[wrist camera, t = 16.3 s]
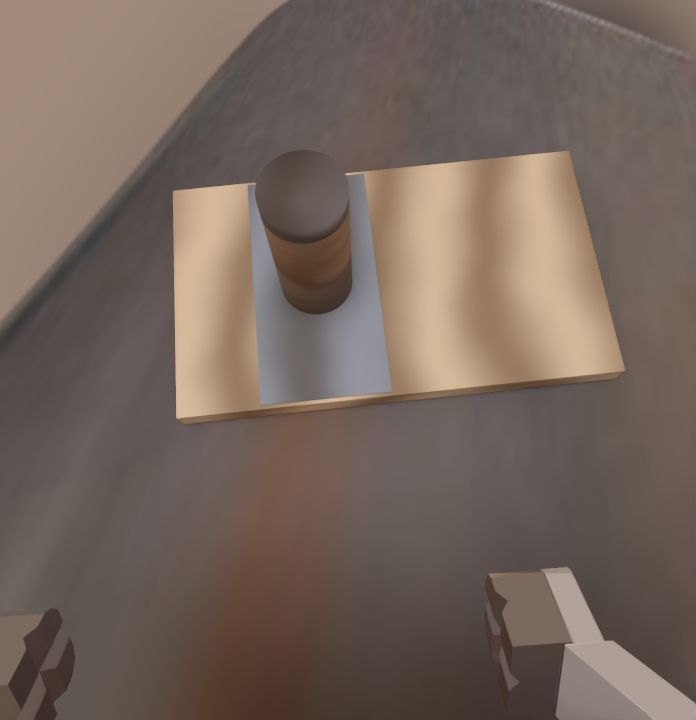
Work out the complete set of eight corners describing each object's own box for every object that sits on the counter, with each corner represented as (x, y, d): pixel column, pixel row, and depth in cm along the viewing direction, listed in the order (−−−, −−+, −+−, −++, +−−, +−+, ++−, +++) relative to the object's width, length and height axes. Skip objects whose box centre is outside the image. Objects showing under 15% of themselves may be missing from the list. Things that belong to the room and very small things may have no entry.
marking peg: (348, 246, 35) (344, 145, 26) (355, 310, 34) (353, 226, 25) (279, 253, 35) (252, 155, 26) (284, 317, 34) (257, 236, 25)
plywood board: (561, 165, 38) (569, 149, 37) (614, 378, 34) (626, 370, 32) (180, 204, 38) (172, 190, 36) (184, 424, 34) (175, 417, 32)
